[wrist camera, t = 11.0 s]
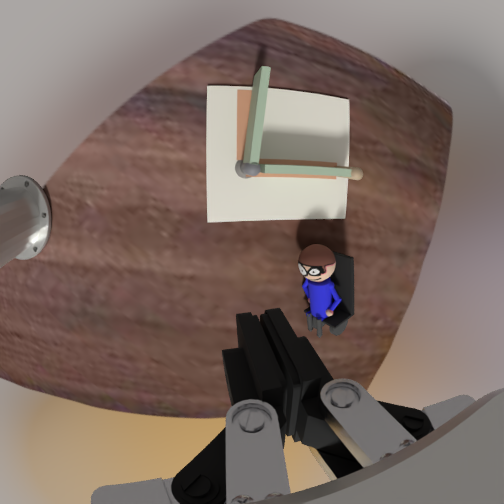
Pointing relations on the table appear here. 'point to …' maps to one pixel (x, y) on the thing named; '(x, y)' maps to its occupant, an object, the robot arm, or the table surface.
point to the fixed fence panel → (313, 170)
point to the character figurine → (327, 288)
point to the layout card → (276, 156)
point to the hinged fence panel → (255, 122)
